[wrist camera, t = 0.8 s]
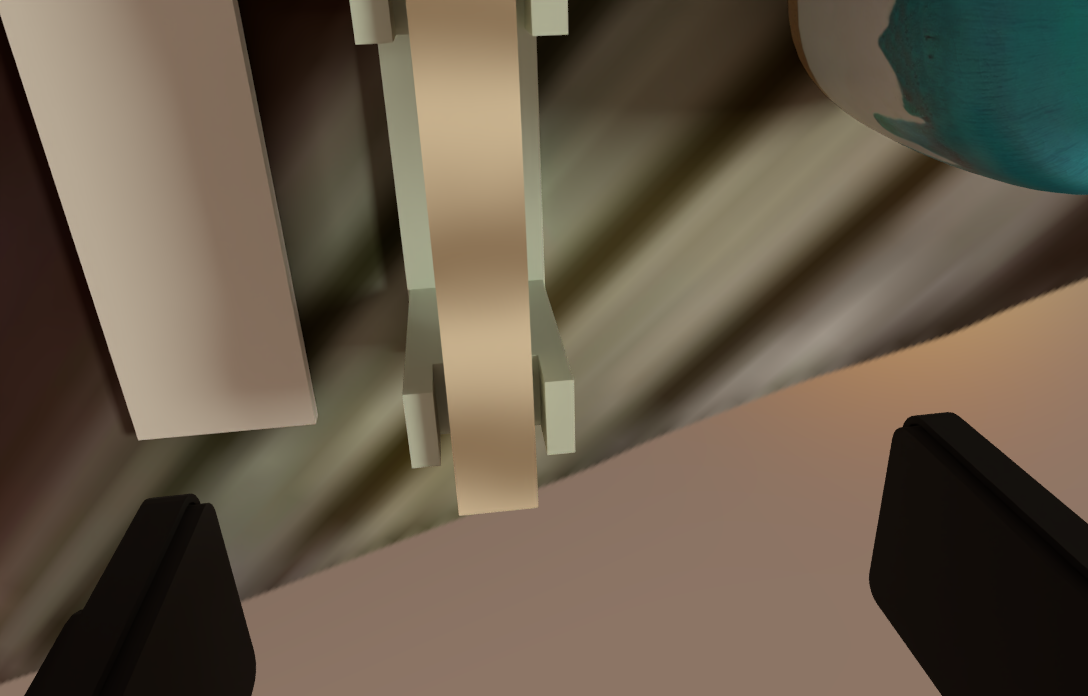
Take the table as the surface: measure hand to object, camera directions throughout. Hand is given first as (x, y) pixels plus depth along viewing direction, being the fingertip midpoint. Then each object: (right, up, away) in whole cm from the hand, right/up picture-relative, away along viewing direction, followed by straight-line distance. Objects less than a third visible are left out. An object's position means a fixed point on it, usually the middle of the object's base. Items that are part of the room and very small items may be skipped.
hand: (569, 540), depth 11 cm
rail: (-3, +7, +15) cm, 17 cm away
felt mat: (-15, +10, +21) cm, 28 cm away
